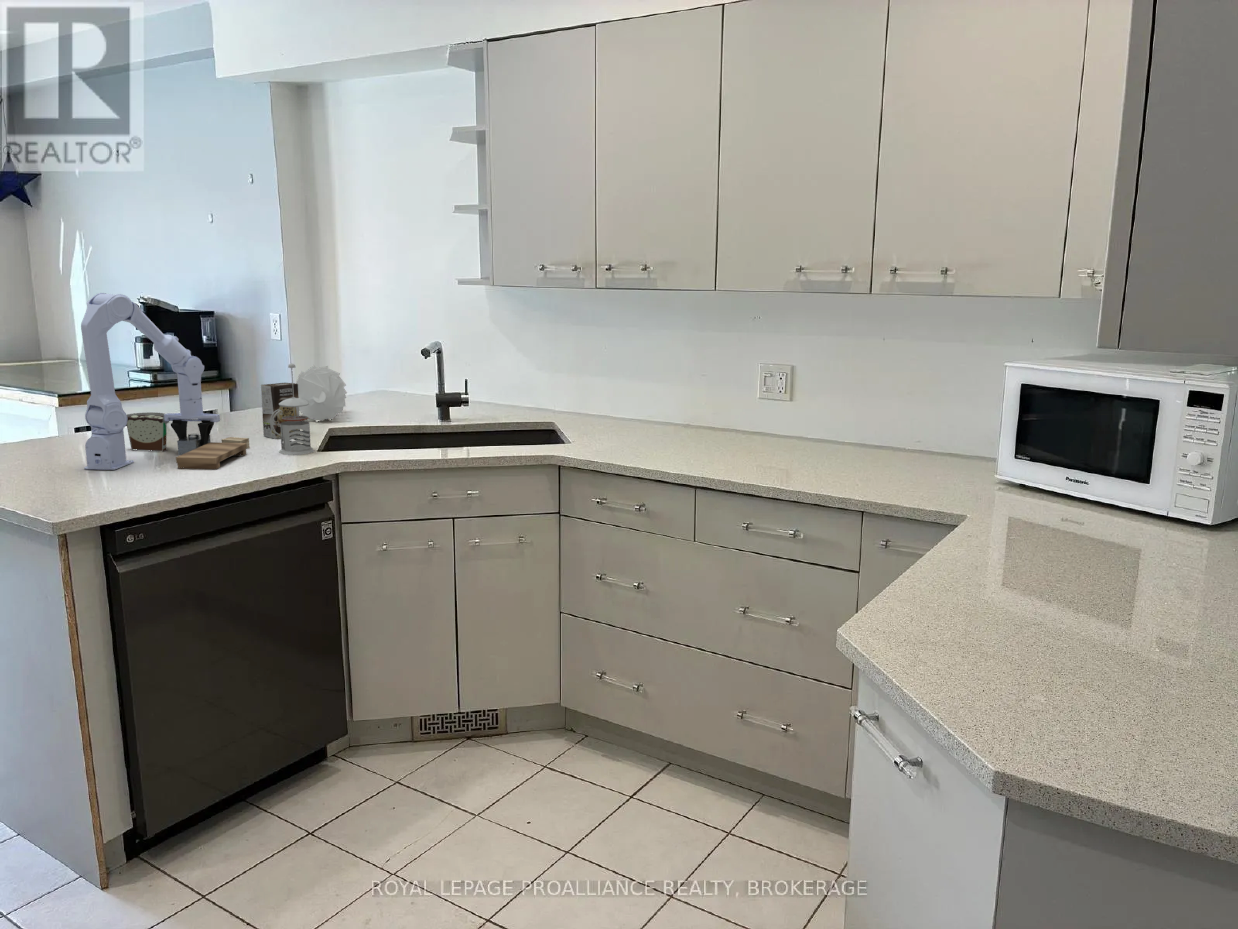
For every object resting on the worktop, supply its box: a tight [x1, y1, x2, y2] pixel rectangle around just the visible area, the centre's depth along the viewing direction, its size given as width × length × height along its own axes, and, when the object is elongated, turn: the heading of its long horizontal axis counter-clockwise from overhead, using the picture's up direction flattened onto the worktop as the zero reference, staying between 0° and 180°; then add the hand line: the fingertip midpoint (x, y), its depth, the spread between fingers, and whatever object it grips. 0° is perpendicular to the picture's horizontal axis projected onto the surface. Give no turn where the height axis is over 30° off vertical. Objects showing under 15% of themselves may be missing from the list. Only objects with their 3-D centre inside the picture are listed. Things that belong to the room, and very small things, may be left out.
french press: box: [270, 362, 316, 456], centre depth 252 cm, size 10×12×25 cm
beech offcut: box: [221, 436, 251, 449], centre depth 257 cm, size 4×6×3 cm, turn 77°
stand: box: [175, 441, 248, 470], centre depth 241 cm, size 20×10×3 cm, turn 0°
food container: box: [126, 411, 170, 452], centre depth 254 cm, size 12×6×10 cm, turn 84°
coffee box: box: [260, 382, 301, 440], centre depth 275 cm, size 9×6×16 cm
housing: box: [176, 432, 212, 456], centre depth 251 cm, size 9×5×5 cm, turn 0°
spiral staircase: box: [295, 364, 348, 422], centre depth 309 cm, size 18×18×25 cm
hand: (194, 446), depth 251 cm, fingers closed on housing, 5 cm apart
